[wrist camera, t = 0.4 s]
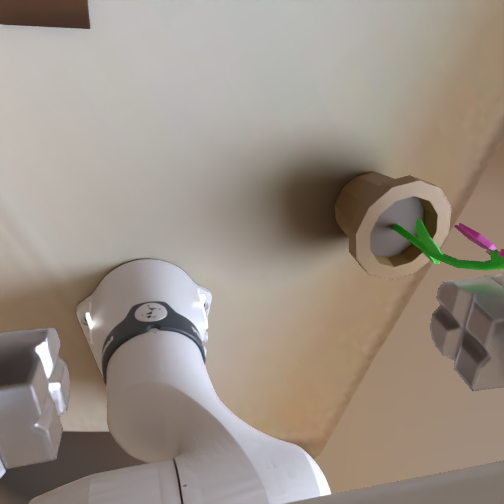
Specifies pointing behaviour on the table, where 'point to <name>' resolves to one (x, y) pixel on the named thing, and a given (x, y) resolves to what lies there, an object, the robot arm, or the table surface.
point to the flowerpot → (401, 226)
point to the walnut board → (45, 13)
